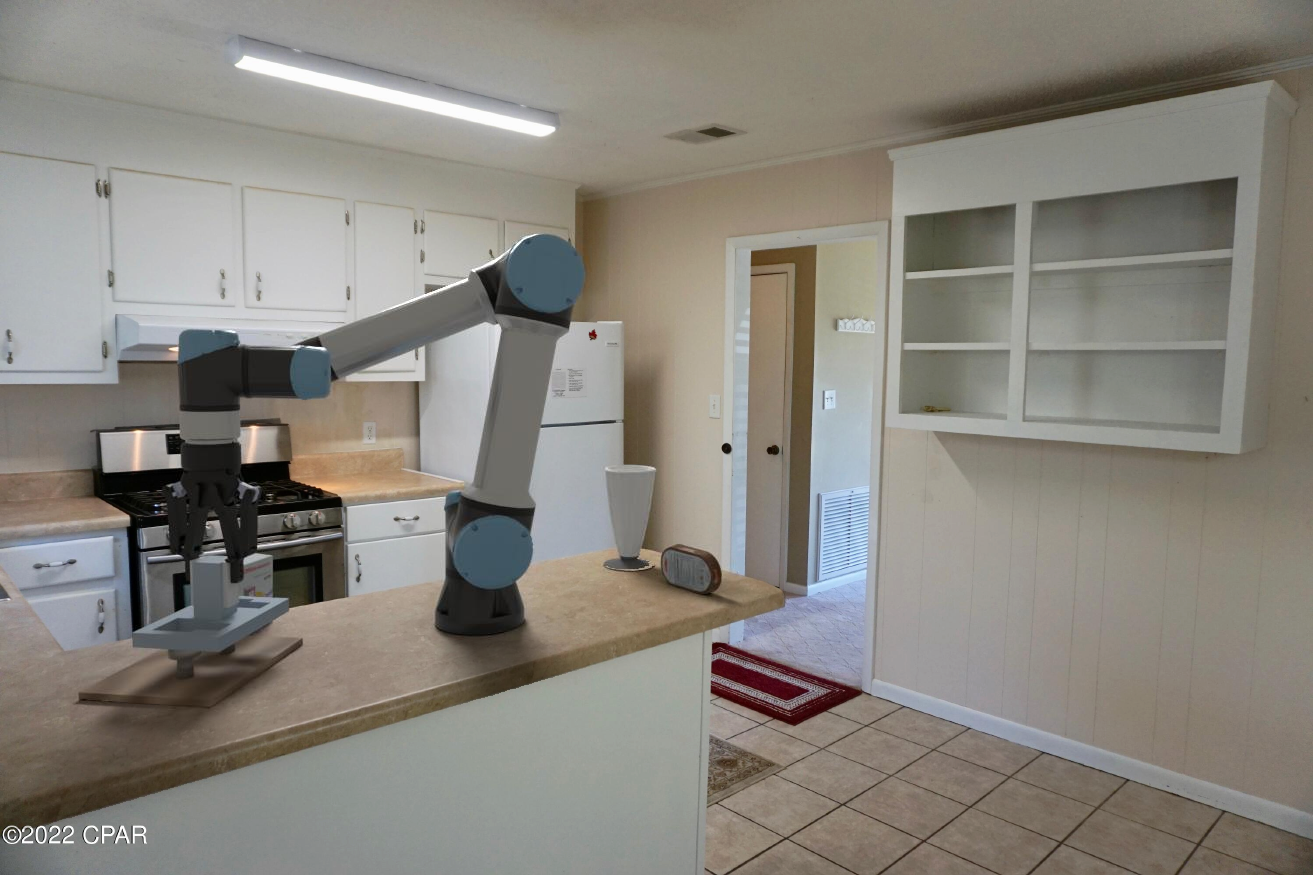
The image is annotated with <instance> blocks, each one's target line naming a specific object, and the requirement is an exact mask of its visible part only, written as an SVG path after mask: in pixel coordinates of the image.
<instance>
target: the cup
mask: <svg viewBox="0 0 1313 875" xmlns="http://www.w3.org/2000/svg"><path fill="white" fill-rule="evenodd" d="M657 471H658V470H657V469H656V468H655V467H653V466H649V465H641V464H640V465H639V464H638V465H637V464H621V465H620V464H618V465H609V466H606V467H605V468H604V472H605V482H606V483H605V484H606V490H607V492H606V493H607V503H608V508H609V509H608V510H609V516H610V521H611V526H612V533H613V537H614V541H615V546H616V549H617V552H618V556H619V557H618V558H611V559H608V560H605V561H604V562H603V563H604V565H603V567H604V566H608V567H610V568H615V569H639V568H644V567H645V566H649V563H648V562H649V561H650V560H649V561H646V560H647V559H645V560H641V559H642V558H640V553H641V549H642V548H643V547H642V546H643V543H644V540H645V537H646V532H647V526H648V523H649V518H650V517H649V516H650V513H651V506H652V501H653V495H654V494H653V493H654V487H655V479H656V478H655V477H656V473H657ZM637 558H640V559H637Z"/></svg>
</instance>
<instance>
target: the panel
mask: <svg viewBox="0 0 1313 875" xmlns="http://www.w3.org/2000/svg"><path fill="white" fill-rule="evenodd" d="M206 556H207V555H206ZM225 559H227V555H226V556H225V555H208V556H207V557H204V558H202V559H199V560H197V561H194V562H192V570H193V604H194V606H191V605H189V606H186V607H184V608H182V609H180V610H178V611H175V612H174V613H171V614H170V615H167V616H165V617H163V618H161V619H159V620H156V621H155V622H152V623H149V624H147V625H146V626H143V627H141V628H139V629H137V630H135V631H132V632H131V637H132V642H131V643H132V648H135V649H138V648H140V649H153V650H154V649H155V650H161V649H171V650H189V651H207V652H220V651H222V650H224V649H225V648H227V647H229V646H230V645H232V644H234V643H235V642H237V641H239V640H241V639H242V638H244V637H246V636H247V635H250V634H251V635H252V633H253V634H254V632H256V631H258V630H259V629H261V628H264V627H265V626H266V625H269V624H270V622H271V621H273V622H274V620H275V621H276V619H278V618H280V617H282V616H284V615H285V614H287V613H288V612H290V599H289V597H273V598H271V597H251V596H239V603H237V604H235V605H233V606H231V607H229V608H223V577H222V562H224V561H225ZM271 623H272V622H271Z"/></svg>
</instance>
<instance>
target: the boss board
mask: <svg viewBox="0 0 1313 875" xmlns="http://www.w3.org/2000/svg"><path fill="white" fill-rule="evenodd" d="M303 640H304V638H303V637H293V636H275V635H274V636H269V635H254V634H253V635H252V634H251V635H250V634H249V635H247V636H246V637H244V638H242V639H241V640H239V641H237V642H235V643H234V644H232V645H230V646H229V647H227V648H225V649H224V650H222V651H220V652H207V651H189V650H171V649H158V650H157V651H155V652H152V653H151V654H149V655H147V656H145V657H143V658H142V659H140V660H138V661H136V662H134V663H132V664H130V665H128V666H126V667H125V668H122V669H121V670H118V671H117V672H115V673H113V674H111V675H109V676H107V677H105V678H103V679H102V680H100V681H97V682H96V683H94V684H92V685H89V686H87V687H86V688H85V689H82V690H80V691H79V692H78V700H79V699H87V700H86V701H91V700H104V701H103V702H109V701H113V702H112V703H114V701H116V702H115V703H127V704H129V703H131V704H146V705H147V704H149V705H162V706H163V705H164V706H165V705H166V706H181V707H199V708H200V707H201V708H212V707H214V706H215V705H216V704H218V703H219V702H221V701H222V700H224V699H225V698H226V697H228V696H229V695H231V694H232V693H234V692H236V691H237V690H238V689H240V688H241V687H242V686H244V685H245V684H247V683H249V682H250V681H251V680H253V679H254V678H256V677H257V676H259V675H261V673H263V672H264V671H267V669H269V668H270V667H272V666H273V665H275V664H276V663H278V662H279V661H280V660H282V659H283V658H285V657H286V656H288V655H289V654H290V653H291V654H292V653H293V651H295V650H296V649H298V648H300V647H301V646H302V645H304V641H303ZM106 700H107V701H106Z"/></svg>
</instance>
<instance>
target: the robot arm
mask: <svg viewBox="0 0 1313 875" xmlns="http://www.w3.org/2000/svg"><path fill="white" fill-rule="evenodd" d="M585 281H586V270H585V265H584V262H583V259H582V257H581V255H580V254H579V252H578V251H577V249H576V248H575V247H574V245H573V244H571V243H570V242H568V240H566V239H564V238H563V237H560V236H558V235H555V234H552V233H533V234H530V235H526V236H524V237H522V238H519V239H518V240H517V241H516V242H514V244H513V245H512V246H511V247H510V248H508V249H507V251H505V252H504V253H502V254H501V255H500V256H498V257H497V258H496V259H493V260H492V261H490V262H488V263H486V264H484V265H483V266H479V267H476V268H474V269H471V270H470V272H469V275H468V277H467V278H466V279H463V280H460V281H458V282H455V283H452V284H450V285H447V286H444V287H442V288H438V289H437V290H434V291H432V292H428V293H426V294H423V295H421V296H419V297H416V298H412V299H410V300H408V301H405V302H403V303H399V304H397V305H395V306H391V307H389V308H387V309H384V310H382V311H379V312H376V313H373V314H371V315H368V316H365V317H363V318H361V319H358V320H355V321H352V322H350V323H347V324H345V325H341V326H339V327H337V328H334V329H332V330H328V331H327V332H324V333H321V334H319V335H317V336H314V337H309V338H307V339H305V340H303V341H299V342H297V343H294V344H291V345H251V344H244V343H243V344H242V343H241V340H240V338H239V334H238V332H236V331H234V330H226V329H225V330H224V329H198V328H197V329H194V328H192V329H191V328H190V329H185V330H182V331H181V332H180V334H179V336H178V349H177V350H178V351H177V361H176V365H177V376H178V377H177V379H178V395H179V396H178V398H179V438H180V439H181V440H184V441H185V442H182V443H181V444H180V448H179V449H180V466H181V468H182V471H183V473H182V475H181V477H180V481H177V482H175V483H170V484H166V485H165V484H164V485H163V486H162V488H161V490H162V491H161V492H162V494H163V496H164V499H165V501H166V506H167V508H166V509H167V510H166V511H167V521H168V522H167V523H168V535H169V536H168V537H169V539H168V540H169V550H170V554H171V555H174V556H175V555H178V556H180V557H182V558H183V560H184V570H185V571H184V574H185V577H184V578H185V580H186V582H190V606H194V604H193V570H192V562H194V561H197V560H199V559H202V558H204V557H207V555H206V556H204V555H203V554H204V553H205V551H203V550H202V549H203V545H204V544H203V543H204V539H205V532H206V528H207V521H208V516H209V512H210V510H211V508H213V510H214V513H215V515H217V517H218V521H219V526H220V530H221V535H222V540H223V544H224V548H225V552H226V553H225V555H226V556H227V559H225V561H224V562H222V577H223V608H229V607H231V606H233V605H235V604H237V603H239V582H241V581H243V578H244V558H246V557H248V556H250V555H253V554H255V553H257V552H258V537H259V535H258V534H259V532H258V527H259V526H258V525H259V522H258V520H259V517H258V516H259V501H260V499H261V496H262V493H263V488H262V487H261V486H259V485H257V486H252V485H250V484H248V483H246V482H245V481H244V478H243V476H242V474H241V469H242V468H241V467H242V461H243V460H242V444H241V442H240V441H237V439H239V438H240V437H241V403H240V402H241V399H275V400H276V399H279V400H281V399H283V400H284V399H285V400H302V401H308V400H313V399H314V400H318V399H326V398H327V397H329V395H330V394H331V386H332V383H334V382H336V381H338V380H340V379H343V378H346V377H348V376H351V375H353V374H356V373H358V372H361V371H364V370H367V369H368V368H371V367H374V366H376V365H380V364H381V363H384V362H387V361H389V360H392V359H394V358H396V357H400V356H402V355H404V354H407V353H410V352H412V351H415V350H417V349H420V348H422V347H425V346H427V345H431V344H433V343H435V342H437V341H438V342H439V341H440V340H443V339H446V338H449V337H450V336H454V335H456V334H459V333H461V332H464V331H466V330H469V329H472V328H473V327H476V326H479V325H481V324H483V323H488V324H490V325H493V326H495V325H498V326H500V331H501V332H500V337H499V340H498V341H499V343H498V347H497V352H496V357H495V364H494V369H493V374H492V379H491V385H490V390H489V396H488V400H487V406H486V412H485V417H484V423H483V427H482V428H483V429H482V433H481V439H480V444H479V448H478V449H479V451H478V455H477V461H476V466H475V472H474V477H473V481H472V482H471V484H469V485H467V487H465V488H464V489H456V490H450V491H448V493H447V494H445V495H446V496H445V503H444V506H443V510H444V516H445V517H444V519H445V520H444V521H445V525H444V528H445V530H444V532H445V538H444V540H445V541H444V542H445V543H444V544H445V545H444V546H445V547H444V548H445V549H444V550H445V551H444V552H445V554H444V555H445V556H444V557H445V558H444V559H445V560H444V561H445V563H444V564H445V565H444V566H445V569H444V570H445V571H444V572H445V577H444V578H445V579H444V581H443V582H444V583H443V585H442V588H441V590H440V594H439V597H438V601H437V603H436V606H435V609H434V624H435V626H436V627H437V628H438V629H440V630H442V631H443V632H446V633H451V634H457V635H465V636H466V635H468V636H470V635H471V636H475V635H476V636H480V635H481V636H482V635H491V634H498V633H504V632H507V631H511V630H513V629H515V628H518V627H520V626H521V625H522V624H523V623H524V621H525V604H524V601H523V598H522V595H521V592H520V589H519V587H518V584H517V581H518V580H520V579H521V578H522V577H523V576H524V575H525V574H526V572H527V571H528V569H529V568H530V566H531V563H532V559H533V554H534V547H533V546H534V543H533V538H532V535H531V534H532V527H533V522H534V518H535V513H536V507H537V503H536V501H535V500H534V498H533V497H532V495H531V494H530V491H529V490H530V485H531V479H532V474H533V470H534V464H535V460H536V459H535V458H536V454H537V450H538V449H537V447H538V442H539V438H540V432H541V428H542V423H543V422H542V421H543V417H544V411H545V408H546V407H545V406H546V401H547V395H548V390H549V386H550V385H549V384H550V379H551V375H552V368H553V363H554V358H555V354H556V353H555V352H556V349H557V348H556V347H557V343H558V341H559V340H560V338H562V337H563V336H565V335H566V334H568V333H569V332H570V326H571V322H572V317H573V312H574V311H573V310H574V307H575V306H574V305H575V303H577V301H578V299H579V298H580V296H581V294H582V292H583V290H584V285H585ZM186 494H187V495H188V497H189V503H188V508H187V499H186ZM238 494H239V499H240V500H241V501H240V504H239V505H240V506H239V519H238V516H237V510H238V505H237V500H236V497H237V495H238ZM188 512H189V516H188ZM201 555H202V556H201Z"/></svg>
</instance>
